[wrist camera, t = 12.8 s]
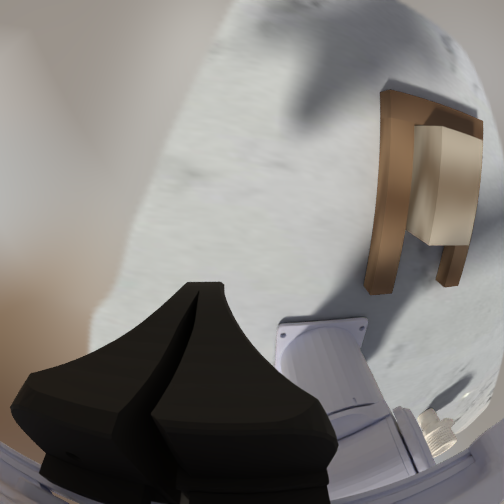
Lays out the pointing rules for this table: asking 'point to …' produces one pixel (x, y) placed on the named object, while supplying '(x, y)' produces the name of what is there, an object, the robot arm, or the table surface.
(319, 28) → the table surface
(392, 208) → the brown frame section
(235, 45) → the table surface
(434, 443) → the pipe fitting
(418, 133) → the beige rectangular block
